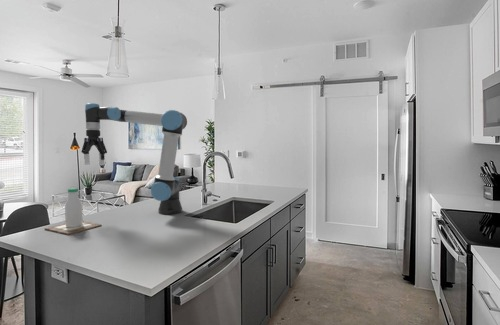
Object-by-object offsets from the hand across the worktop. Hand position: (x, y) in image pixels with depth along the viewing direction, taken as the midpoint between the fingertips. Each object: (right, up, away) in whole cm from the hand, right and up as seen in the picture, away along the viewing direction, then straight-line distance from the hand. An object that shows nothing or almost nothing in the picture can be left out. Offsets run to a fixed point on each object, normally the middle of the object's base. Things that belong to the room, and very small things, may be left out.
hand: (94, 165), depth 177 cm
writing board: (0, -33, -22) cm, 40 cm away
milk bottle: (+1, -32, -21) cm, 39 cm away
